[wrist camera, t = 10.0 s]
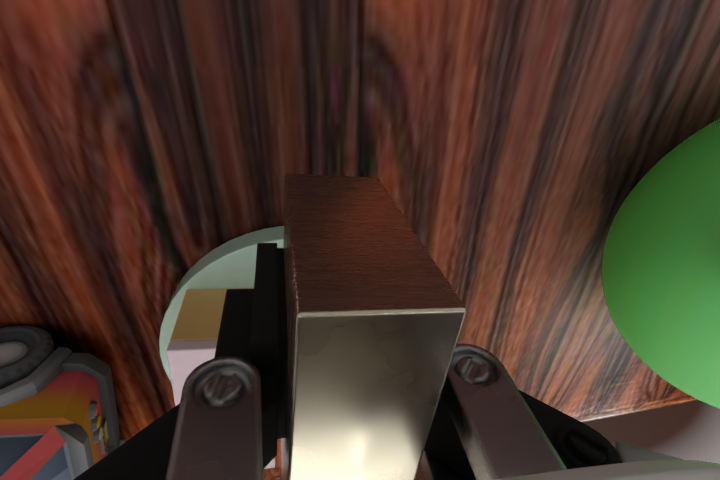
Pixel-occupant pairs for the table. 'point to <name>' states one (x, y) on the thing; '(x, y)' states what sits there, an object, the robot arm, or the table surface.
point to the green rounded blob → (671, 266)
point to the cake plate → (218, 275)
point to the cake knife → (360, 333)
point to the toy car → (52, 408)
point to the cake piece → (195, 336)
